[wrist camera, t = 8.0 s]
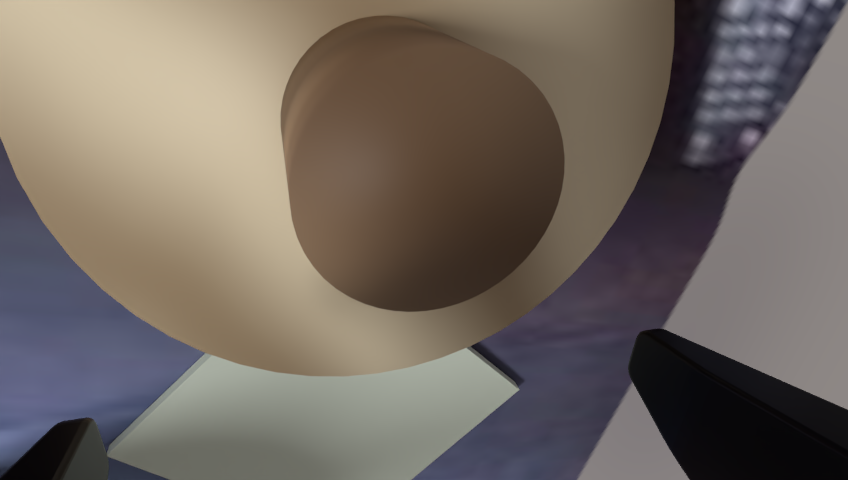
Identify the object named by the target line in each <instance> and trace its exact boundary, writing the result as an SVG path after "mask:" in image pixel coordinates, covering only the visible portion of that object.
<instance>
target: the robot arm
mask: <svg viewBox="0 0 848 480" xmlns="http://www.w3.org/2000/svg"><path fill="white" fill-rule="evenodd" d="M628 370H629V375H630V378H631V380H632V382H633V383H634V385H635V387H636V389H637V391H638V393H639V394H640V396H641V398H642V400H643V402H644V403H645V405H646V407H647V409H648V411H649V413H650V415H651V416H652V418H653V420H654V422H655V423H656V425H657V427H658V429H659V431H660V433H661V435H662V436H663V438H664V440H665V441H666V443H667V445H668V447H669V449H670V450H671V452H672V453H673V455H674V457H675V458H676V460H677V461H678V463H679V464H680V466H681V467H682V469H683V470H684V472H685V473H686V475H687V476H688V478H689V479H690V480H848V410H847V409H845V408H842V407H840V406H838V405H835V404H833V403H831V402H829V401H826V400H824V399H822V398H820V397H817V396H815V395H813V394H810V393H808V392H806V391H804V390H801V389H799V388H797V387H794V386H792V385H790V384H788V383H785V382H783V381H781V380H778V379H776V378H774V377H772V376H769V375H767V374H765V373H762V372H760V371H758V370H756V369H753V368H751V367H749V366H747V365H744V364H742V363H740V362H737V361H735V360H733V359H731V358H728V357H726V356H724V355H721V354H719V353H717V352H715V351H712V350H710V349H708V348H705V347H703V346H701V345H699V344H696V343H694V342H692V341H689V340H687V339H685V338H682V337H680V336H678V335H676V334H673V333H671V332H669V331H667V330H664V329H652V330H645V331H642V332H640V333H639V335H638V336H637V338H636V341H635V345H634V348H633V351H632V354H631V357H630V361H629V364H628ZM108 471H109V464H108V457H107V453H106V450H105V447H104V445H103V442H102V439H101V436H100V433H99V430H98V427H97V424H96V422H95V421H94V420H93V419H92V418H81V419H74V420H68V421H62V422H60V423H58V424H56V425H55V426H53V427H52V428H51V429H50V430H49V431H48V432H47V433H46V434H45V435H44V436H43V437H42V438H41V439H40V440H39V441H38V442H37V443H36V444H34V445H33V446H32V447H31V448H30V449H29V450H28V451H27V452H26V453H25V454H24V455H23V456H22V457H21V458H20V459H19V460H18V461H17V462H16V463H15V464H14V465H13V466H12V467H11V468H9V469H8V470H7V471H6V472H5V473H4V474H3V475H2V476H1V477H0V480H108Z"/></svg>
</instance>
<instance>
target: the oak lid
mask: <svg viewBox="0 0 848 480" xmlns="http://www.w3.org/2000/svg"><path fill="white" fill-rule="evenodd" d="M674 7H675V2H674V0H0V137H1V140H2V142H3V145H4V147H5V150H6V152H7V154H8V157H9V159H10V162H11V164H12V167H13V169H14V171H15V174H16V176H17V178H18V180H19V182H20V184H21V185H22V187H23V189H24V191H25V192H26V194H27V196H28V197H29V199H30V201H31V203H32V204H33V206H34V208H35V209H36V211H37V213H38V215H39V216H40V218H41V220H42V221H43V223H44V224H45V225H46V226H47V228H48V229H49V230H50V232H51V233H52V234H53V235H54V237H55V238H56V239H57V241H58V242H59V243H60V245H61V246H62V247H63V248H64V250H65V251H66V252H67V254H68V255H69V256H70V257H71V259H72V260H73V261H74V262H75V263H76V264H77V265H78V266H79V267H80V268H81V269H82V270H83V271H84V272H85V273H86V274H87V275H88V276H89V277H90V278H91V279H92V280H93V281H94V282H95V283H96V284H97V285H98V286H99V287H100V288H101V289H102V290H104V291H105V292H106V293H108V294H109V295H110V296H111V297H113V298H114V299H115V300H116V301H118V302H119V303H120V304H122V305H123V306H124V307H125V308H127V309H128V310H129V311H131V312H132V313H133V314H134V315H136V316H137V317H139V318H141V319H142V320H144V321H145V322H147V323H149V324H150V325H152V326H154V327H155V328H157V329H159V330H160V331H162V332H164V333H165V334H167V335H168V336H170V337H172V338H174V339H177V340H179V341H181V342H183V343H185V344H187V345H190V346H192V347H194V348H196V349H198V350H200V351H202V352H205V353H207V354H210V355H213V356H216V357H219V358H222V359H225V360H228V361H231V362H234V363H237V364H240V365H245V366H249V367H254V368H258V369H263V370H267V371H272V372H277V373H286V374H295V375H304V376H355V375H366V374H377V373H382V372H388V371H393V370H398V369H403V368H408V367H412V366H416V365H419V364H422V363H426V362H429V361H433V360H436V359H439V358H442V357H445V356H447V355H450V354H452V353H455V352H457V351H460V350H462V349H465V348H467V347H470V346H472V345H474V344H475V343H477V342H479V341H481V340H483V339H485V338H487V337H489V336H491V335H493V334H495V333H497V332H499V331H500V330H502V329H503V328H505V327H506V326H508V325H510V324H511V323H513V322H514V321H516V320H517V319H519V318H521V317H522V316H524V315H525V314H527V313H528V312H529V311H530V310H532V309H533V308H534V307H535V306H537V305H538V304H539V303H541V302H542V301H543V300H544V299H546V298H547V297H548V296H550V295H551V294H552V293H553V292H554V291H555V290H556V289H557V288H558V287H559V286H560V285H561V284H562V283H563V282H565V281H566V280H567V279H568V278H569V277H570V276H571V275H572V274H573V273H574V272H575V271H576V270H577V269H578V267H579V266H580V265H581V264H582V263H583V262H584V261H585V259H586V258H587V257H588V256H589V255H590V254H591V253H592V251H593V250H594V249H595V248H596V247H597V246H598V244H599V243H600V241H601V240H602V239H603V237H604V236H605V234H606V233H607V232H608V230H609V229H610V227H611V226H612V225H613V223H614V222H615V220H616V219H617V217H618V216H619V214H620V212H621V210H622V209H623V207H624V205H625V204H626V202H627V200H628V198H629V197H630V195H631V193H632V191H633V190H634V188H635V186H636V183H637V181H638V179H639V177H640V175H641V172H642V170H643V168H644V166H645V164H646V161H647V159H648V157H649V154H650V151H651V148H652V146H653V143H654V140H655V137H656V134H657V131H658V128H659V125H660V122H661V118H662V114H663V109H664V105H665V101H666V96H667V92H668V88H669V82H670V74H671V66H672V58H673V49H674Z"/></svg>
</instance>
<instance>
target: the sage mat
mask: <svg viewBox="0 0 848 480" xmlns="http://www.w3.org/2000/svg"><path fill="white" fill-rule="evenodd" d="M517 391H519V388H518V386H517V385H516V383H515V382H514V381H513V380H512V379H511V378H509V377H508V376H507V375H506V374H504V373H503V372H502V371H501V370H499V369H498V368H497V367H496V366H494V365H493V364H492V363H491V362H489V361H488V360H487V359H486V358H484V357H483V356H482V355H481V354H479V353H478V352H477V351H476V350H474V349H473V348H472V347H471V346H470V347H467V348H465V349H462V350H460V351H457V352H455V353H452V354H450V355H447V356H445V357H442V358H439V359H436V360H433V361H429V362H426V363H422V364H419V365H416V366H412V367H408V368H403V369H398V370H393V371H388V372H382V373H377V374H366V375H355V376H304V375H295V374H286V373H277V372H272V371H267V370H263V369H258V368H254V367H249V366H245V365H240V364H237V363H234V362H231V361H228V360H225V359H222V358H219V357H216V356H213V355H210V354H207V353H205V354H204V355H203V356H202V357H201V358H200V359H199V360H198V361H197V362H196V363H195V364H194V365H192V366H191V367H190V368H189V369H188V370H187V371H186V372H185V373H184V374H183V375H182V376H181V377H180V378H179V379H178V380H177V381H176V382H175V383H174V384H173V385H172V386H171V387H169V388H168V389H167V390H166V391H165V392H164V393H163V394H162V395H161V396H160V397H159V398H158V399H157V400H156V401H155V402H154V403H153V404H152V405H151V406H150V407H149V408H147V409H146V410H145V411H144V412H143V413H142V414H141V415H140V416H139V417H138V418H137V419H136V420H135V421H134V422H133V423H132V424H131V425H130V426H129V427H128V428H127V429H125V430H124V431H123V432H122V433H121V434H120V435H119V436H118V437H117V438H116V439H115V440H114V441H113V442H112V443H111V444H110V445H109V448H108V451H107V457H110V458H112V459H115V460H118V461H121V462H123V463H126V464H129V465H131V466H134V467H137V468H139V469H142V470H145V471H147V472H150V473H153V474H156V475H158V476H161V477H164V478H166V479H169V480H411V479H413V478H414V477H415V476H416V475H417V474H419V473H420V472H421V471H422V470H424V469H425V468H426V467H427V466H428V465H430V464H431V463H432V462H433V461H434V460H436V459H437V458H438V457H439V456H440V455H442V454H443V453H444V452H445V451H446V450H448V449H449V448H450V447H451V446H452V445H454V444H455V443H456V442H457V441H458V440H460V439H461V438H462V437H463V436H464V435H466V434H467V433H468V432H469V431H470V430H472V429H473V428H474V427H475V426H476V425H478V424H479V423H480V422H481V421H482V420H484V419H485V418H486V417H487V416H488V415H490V414H491V413H492V412H493V411H495V410H496V409H497V408H498V407H499V406H501V405H502V404H503V403H504V402H505V401H507V400H508V399H509V398H510V397H511V396H513V395H514V394H515V393H516V392H517Z"/></svg>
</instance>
